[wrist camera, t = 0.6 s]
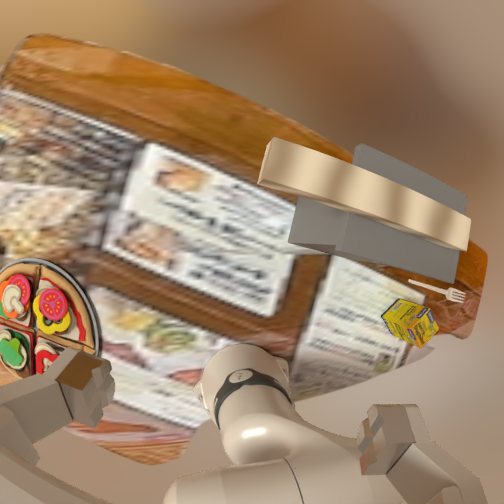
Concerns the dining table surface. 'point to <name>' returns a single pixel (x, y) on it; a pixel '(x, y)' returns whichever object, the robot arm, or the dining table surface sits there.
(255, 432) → the robot arm
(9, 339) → the toy pizza
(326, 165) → the birch bar
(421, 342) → the supplement box
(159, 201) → the dining table surface
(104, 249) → the dining table surface
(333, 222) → the charcoal stand
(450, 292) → the fork
